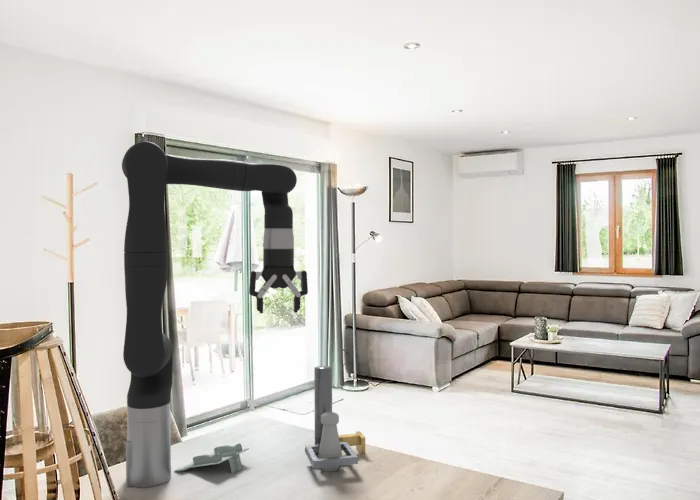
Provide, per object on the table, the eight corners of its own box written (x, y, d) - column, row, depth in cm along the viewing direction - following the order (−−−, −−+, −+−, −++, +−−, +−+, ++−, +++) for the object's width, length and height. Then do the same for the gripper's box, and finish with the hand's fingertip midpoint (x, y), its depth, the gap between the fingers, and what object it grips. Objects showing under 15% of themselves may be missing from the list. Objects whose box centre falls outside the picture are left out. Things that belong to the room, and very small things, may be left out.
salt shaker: (332, 461, 141) (332, 408, 140) (347, 468, 136) (347, 413, 136) (313, 467, 137) (312, 413, 137) (327, 475, 132) (327, 418, 132)
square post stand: (313, 478, 130) (313, 381, 130) (300, 451, 147) (300, 365, 147) (378, 471, 134) (378, 377, 134) (358, 446, 151) (358, 362, 151)
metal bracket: (255, 437, 142) (213, 457, 129) (261, 461, 141) (219, 483, 128) (213, 444, 148) (168, 464, 135) (218, 467, 148) (174, 489, 135)
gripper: (250, 247, 137) (250, 315, 138) (309, 247, 141) (309, 313, 141) (248, 247, 145) (248, 311, 145) (304, 247, 148) (304, 310, 148)
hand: (278, 312), depth 143 cm, fingers open, 8 cm apart
